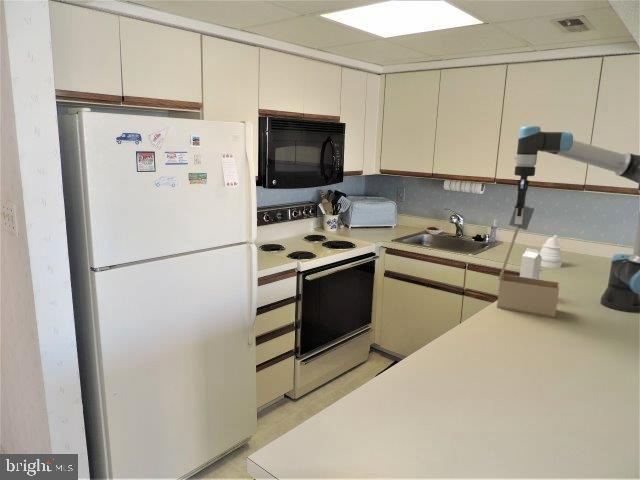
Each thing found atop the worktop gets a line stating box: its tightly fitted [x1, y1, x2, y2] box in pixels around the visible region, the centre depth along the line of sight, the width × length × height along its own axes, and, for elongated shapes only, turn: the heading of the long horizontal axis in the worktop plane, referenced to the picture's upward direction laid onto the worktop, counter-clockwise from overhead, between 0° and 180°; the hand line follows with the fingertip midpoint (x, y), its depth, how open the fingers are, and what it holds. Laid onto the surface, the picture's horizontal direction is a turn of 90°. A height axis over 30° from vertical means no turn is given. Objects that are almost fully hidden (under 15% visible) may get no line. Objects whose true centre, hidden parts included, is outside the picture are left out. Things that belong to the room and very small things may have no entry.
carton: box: [496, 273, 560, 319], centre depth 189 cm, size 22×11×12 cm, turn 62°
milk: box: [519, 247, 542, 279], centre depth 205 cm, size 6×6×22 cm
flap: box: [497, 203, 535, 281], centre depth 188 cm, size 32×12×7 cm
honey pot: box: [539, 234, 563, 269], centre depth 262 cm, size 13×13×18 cm
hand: (518, 223), depth 186 cm, fingers closed on flap, 2 cm apart
